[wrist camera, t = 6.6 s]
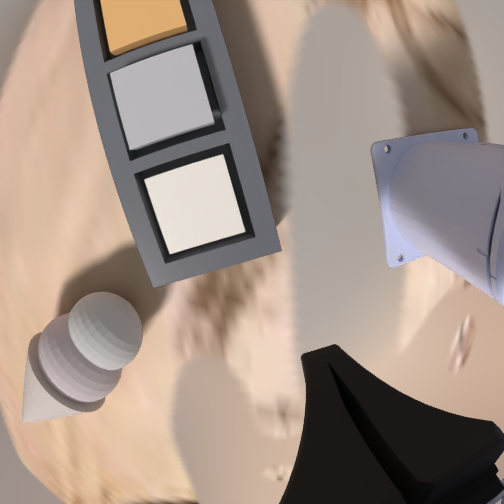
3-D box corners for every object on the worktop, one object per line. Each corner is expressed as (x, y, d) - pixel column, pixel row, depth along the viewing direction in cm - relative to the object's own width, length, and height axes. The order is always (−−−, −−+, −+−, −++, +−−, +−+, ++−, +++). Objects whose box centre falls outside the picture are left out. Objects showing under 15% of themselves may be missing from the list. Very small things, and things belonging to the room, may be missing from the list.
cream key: (222, 153, 14) (223, 154, 13) (242, 225, 15) (245, 231, 14) (149, 176, 14) (144, 179, 13) (173, 246, 15) (170, 254, 14)
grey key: (194, 52, 11) (192, 44, 10) (214, 124, 12) (214, 121, 11) (118, 78, 11) (110, 73, 10) (137, 149, 12) (129, 150, 11)
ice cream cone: (33, 389, 19) (132, 277, 20) (66, 450, 17) (183, 350, 17) (-22, 390, 14) (70, 252, 14) (11, 464, 11) (123, 351, 12)
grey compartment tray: (196, -26, 12) (194, -53, 9) (270, 233, 17) (281, 250, 14) (91, 10, 11) (72, -9, 9) (163, 265, 17) (153, 288, 14)
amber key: (173, -19, 10) (171, -29, 9) (188, 33, 12) (186, 25, 10) (107, 5, 10) (99, -4, 9) (117, 58, 11) (110, 52, 10)
